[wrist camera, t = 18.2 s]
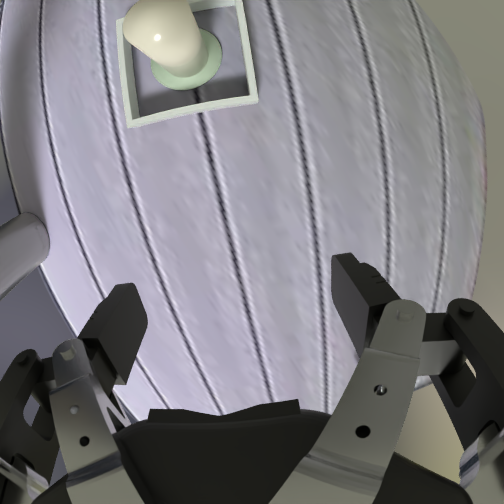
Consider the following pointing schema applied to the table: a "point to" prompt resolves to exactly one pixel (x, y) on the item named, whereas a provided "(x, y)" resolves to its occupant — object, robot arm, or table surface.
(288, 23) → the table surface
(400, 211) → the table surface
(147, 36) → the canister
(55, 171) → the table surface
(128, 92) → the square picture frame
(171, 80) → the pad
